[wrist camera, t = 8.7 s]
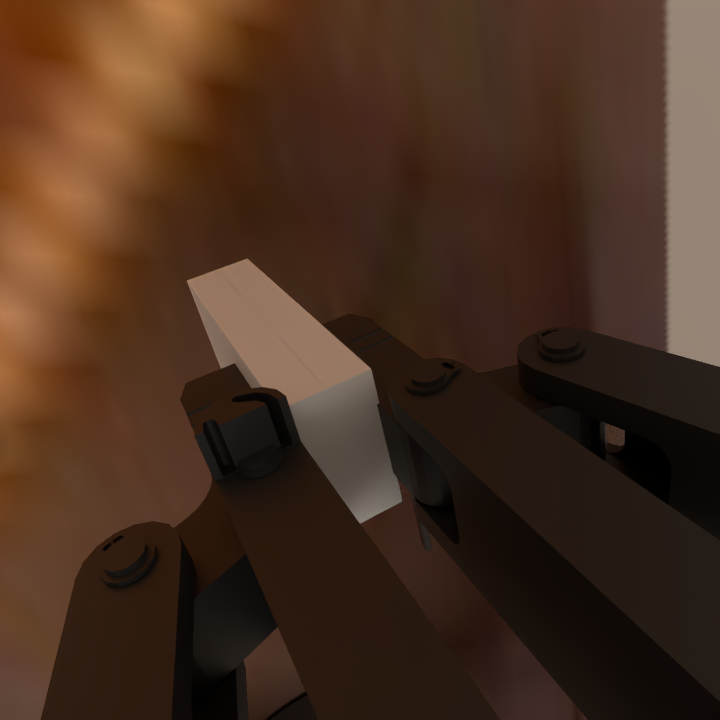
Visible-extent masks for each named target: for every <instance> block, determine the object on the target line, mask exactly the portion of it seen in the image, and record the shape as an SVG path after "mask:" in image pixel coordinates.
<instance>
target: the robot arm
mask: <svg viewBox="0 0 720 720" xmlns="http://www.w3.org/2000/svg"><path fill="white" fill-rule="evenodd" d="M187 283H188V285H189V288H190V290H191V293H192V296H193V298H194V301H195V303H196V306H197V308H198V311H199V314H200V316H201V319H202V321H203V324H204V326H205V329H206V332H207V334H208V337H209V339H210V342H211V344H212V347H213V350H214V352H215V355H216V357H217V360H218V362H219V365H220V368H221V369H219V370H217V371H214V372H212V373H209V374H207V375H205V376H202V377H200V378H197V379H195V380H193V381H190V382H188V383H186V384H185V387H184V390H183V393H182V396H181V399H180V400H181V402H182V405H183V407H184V409H185V412H186V414H187V416H188V419H189V421H190V423H191V426H192V428H193V430H194V433H195V438H196V440H197V442H198V445H199V447H200V449H201V451H202V454H203V456H204V458H205V460H206V463H207V465H208V467H209V469H210V472H211V474H212V483H211V488H210V490H209V492H208V494H207V496H206V498H205V500H204V501H203V502H202V504H201V505H200V506H199V507H198V509H197V510H195V511H194V512H193V513H192V514H191V515H190V516H189V517H188V518H186V519H185V520H184V521H183V522H181V523H180V524H179V525H177V526H176V527H175V528H172V527H171V526H170V525H169V524H165V523H159V522H153V521H152V522H147V523H141V524H135V525H133V526H130V527H128V528H126V529H124V530H121V531H119V532H117V533H115V534H113V535H112V536H111V537H109V538H108V539H107V540H105V541H104V542H102V543H101V544H100V545H98V546H97V547H96V548H95V549H94V551H93V552H92V553H91V554H90V555H89V556H88V557H87V559H86V560H85V561H84V562H83V564H82V566H81V568H80V570H79V573H78V575H77V577H76V579H75V583H74V587H73V591H72V595H71V599H70V603H69V607H68V611H67V615H66V620H65V624H64V628H63V632H62V636H61V640H60V644H59V648H58V652H57V656H56V660H55V664H54V668H53V672H52V676H51V680H50V684H49V688H48V692H47V696H46V700H45V705H44V709H43V713H42V717H41V720H248V703H247V685H246V668H245V665H244V661H243V660H244V659H245V658H246V657H247V656H248V655H249V654H250V653H251V652H252V651H253V650H254V649H255V648H256V647H257V646H258V645H259V644H260V643H261V642H262V641H263V640H264V639H265V638H267V637H268V636H269V635H270V634H271V633H272V632H273V631H274V630H275V629H276V628H277V627H278V628H279V631H280V633H281V635H282V637H283V640H284V642H285V644H286V647H287V649H288V651H289V654H290V656H291V658H292V661H293V663H294V665H295V667H296V670H297V672H298V674H299V677H300V679H301V681H302V684H303V686H304V688H305V691H306V693H307V695H306V696H304V697H303V698H301V699H299V700H298V701H296V702H294V703H293V704H291V705H290V706H288V707H287V708H285V709H284V710H282V711H281V712H280V713H278V714H277V715H276V716H274V717H273V718H272V719H271V720H500V718H499V717H498V716H497V714H496V713H495V711H494V710H493V709H492V707H491V706H490V705H489V703H488V702H487V700H486V699H485V698H484V696H483V695H482V693H481V692H480V691H479V689H478V688H477V686H476V685H475V684H474V682H473V681H472V679H471V678H470V677H469V675H468V674H467V672H466V671H465V670H464V668H463V667H462V665H461V664H460V663H459V661H458V660H457V658H456V657H455V656H454V654H453V653H452V651H451V650H450V649H449V647H448V646H447V644H446V643H445V642H444V640H443V639H442V637H441V636H440V635H439V633H438V632H437V631H436V629H435V628H434V626H433V625H432V624H431V622H430V621H429V619H428V618H427V617H426V615H425V614H424V612H423V611H422V610H421V608H420V607H419V605H418V604H417V603H416V601H415V600H414V598H413V597H412V596H411V594H410V593H409V591H408V590H407V589H406V587H405V586H404V584H403V583H402V582H401V580H400V579H399V577H398V576H397V575H396V573H395V572H394V570H393V569H392V568H391V566H390V565H389V563H388V562H387V561H386V559H385V558H384V557H383V555H382V554H381V552H380V551H379V550H378V548H377V547H376V545H375V544H374V543H373V541H372V540H371V538H370V537H369V536H368V534H367V533H366V531H365V530H364V529H363V527H362V526H361V524H360V523H362V522H364V521H366V520H368V519H370V518H372V517H374V516H376V515H377V514H379V513H381V512H383V511H385V510H387V509H389V508H391V507H393V506H395V505H396V504H398V503H400V502H402V497H401V493H400V488H399V484H398V480H397V478H398V479H399V480H400V481H401V482H402V483H403V484H404V486H405V487H406V488H407V489H408V490H409V491H410V492H411V497H412V501H413V506H414V510H415V515H416V519H417V523H418V528H419V532H420V537H421V541H422V544H423V546H424V548H425V550H426V552H427V551H429V550H431V549H432V546H431V541H430V537H429V532H430V533H431V534H432V536H433V537H434V538H435V539H436V540H437V541H438V543H439V544H440V545H441V546H442V547H443V549H444V550H445V551H446V552H447V553H448V554H449V556H450V557H451V558H452V559H453V560H454V562H455V563H456V564H457V565H458V566H459V568H460V569H461V570H462V571H463V572H464V573H465V575H466V576H467V577H468V578H469V579H470V581H471V582H472V583H473V584H474V585H475V586H476V588H477V589H478V590H479V591H480V592H481V594H482V595H483V596H484V597H485V598H486V599H487V601H488V602H489V603H490V604H491V605H492V607H493V608H494V609H495V610H496V611H497V613H498V614H499V615H500V616H501V617H502V618H503V620H504V621H505V622H506V623H507V624H508V626H509V627H510V628H511V629H512V630H513V631H514V633H515V634H516V635H517V636H518V637H519V639H520V640H521V641H522V642H523V643H524V645H525V646H526V647H527V648H528V649H529V650H530V652H531V653H532V654H533V655H534V656H535V658H536V659H537V660H538V661H539V662H540V663H541V665H542V666H543V667H544V668H545V669H546V671H547V672H548V673H549V674H550V675H551V676H552V678H553V679H554V680H555V681H556V682H557V684H558V685H559V686H560V687H561V688H562V690H563V691H564V692H565V693H566V694H567V695H568V697H569V698H570V699H571V700H572V701H573V703H574V704H575V705H576V706H577V707H578V708H579V710H580V711H581V712H582V713H583V714H584V716H585V717H586V718H587V719H588V720H720V367H718V366H714V365H710V364H707V363H703V362H699V361H696V360H692V359H689V358H685V357H682V356H678V355H674V354H671V353H667V352H663V351H660V350H656V349H653V348H649V347H645V346H642V345H638V344H634V343H631V342H627V341H624V340H620V339H616V338H613V337H609V336H606V335H602V334H598V333H595V332H591V331H587V330H583V329H576V328H570V327H568V328H557V327H556V328H549V329H547V330H546V329H545V330H542V331H539V332H536V333H534V334H532V335H530V336H528V337H526V338H525V339H524V340H523V341H522V342H521V343H520V344H519V346H518V352H517V358H518V365H514V366H509V367H505V368H501V369H497V370H493V371H488V372H482V373H476V372H474V371H473V370H472V369H470V368H469V367H467V366H466V365H464V364H462V363H460V362H457V361H455V360H452V359H444V358H432V359H423V358H422V357H421V356H419V355H418V354H416V353H415V352H414V351H412V350H411V349H410V348H408V347H407V346H406V345H404V344H403V343H402V342H400V341H399V340H398V339H396V338H393V336H392V335H391V334H390V333H388V332H387V331H385V330H382V328H381V327H380V326H379V325H377V324H376V323H375V322H373V321H372V320H371V319H369V318H366V317H361V316H357V315H352V314H347V315H345V316H342V317H340V318H337V319H335V320H333V321H330V322H328V323H325V324H323V325H321V324H320V323H319V322H318V321H317V320H316V319H315V318H313V317H312V316H311V315H310V314H309V313H308V312H307V311H306V310H305V309H303V308H302V307H301V306H300V305H299V304H298V303H297V302H296V301H294V300H293V299H292V298H291V297H290V296H289V295H288V294H287V293H285V292H284V291H283V290H282V289H281V288H280V287H279V286H278V285H276V284H275V283H274V282H273V281H272V280H271V279H270V278H269V277H267V276H266V275H265V274H264V273H263V272H262V271H261V270H260V269H258V268H257V267H256V266H255V265H254V264H253V263H252V262H251V261H249V260H248V259H245V260H242V261H239V262H236V263H234V264H231V265H228V266H225V267H223V268H220V269H217V270H214V271H212V272H209V273H206V274H204V275H201V276H198V277H195V278H193V279H190V280H187ZM607 424H610V425H613V426H615V427H618V428H620V429H623V430H625V444H624V446H617V445H613V444H610V443H608V442H607Z"/></svg>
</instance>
